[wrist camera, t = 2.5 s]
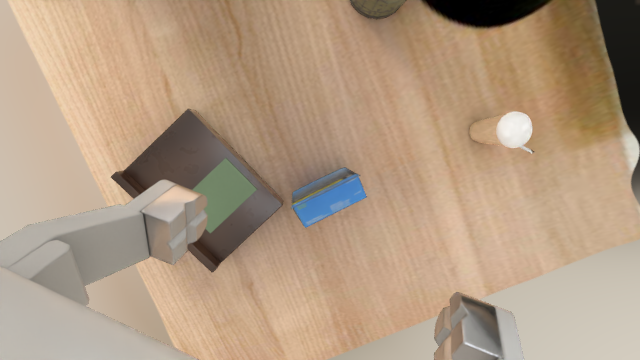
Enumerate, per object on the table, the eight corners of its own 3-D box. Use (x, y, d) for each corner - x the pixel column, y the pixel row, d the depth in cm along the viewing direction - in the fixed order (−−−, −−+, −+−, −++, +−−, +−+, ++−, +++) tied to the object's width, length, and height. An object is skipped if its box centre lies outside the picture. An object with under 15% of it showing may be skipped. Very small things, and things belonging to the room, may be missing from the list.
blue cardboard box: (303, 214, 48) (304, 239, 36) (291, 191, 48) (288, 209, 36) (356, 188, 48) (375, 204, 36) (345, 165, 48) (360, 173, 36)
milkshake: (472, 156, 49) (516, 160, 39) (460, 123, 48) (501, 119, 38) (499, 144, 49) (550, 145, 39) (488, 111, 48) (536, 103, 38)
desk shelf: (130, 173, 46) (110, 177, 41) (195, 110, 46) (182, 106, 41) (221, 259, 49) (212, 272, 44) (283, 200, 48) (281, 207, 43)
